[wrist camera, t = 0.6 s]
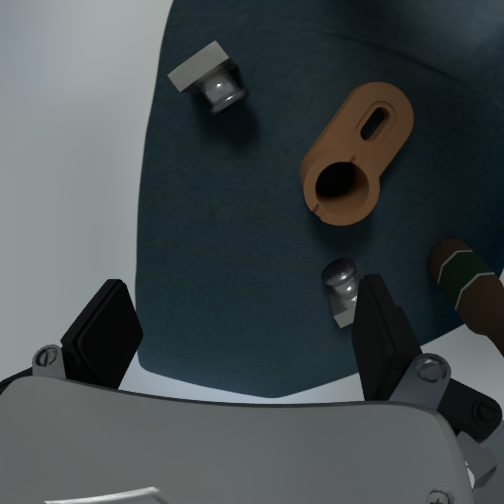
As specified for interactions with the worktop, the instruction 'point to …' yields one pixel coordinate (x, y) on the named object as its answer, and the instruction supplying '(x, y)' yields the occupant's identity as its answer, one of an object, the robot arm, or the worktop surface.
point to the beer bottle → (470, 288)
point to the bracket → (357, 151)
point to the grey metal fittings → (223, 98)
